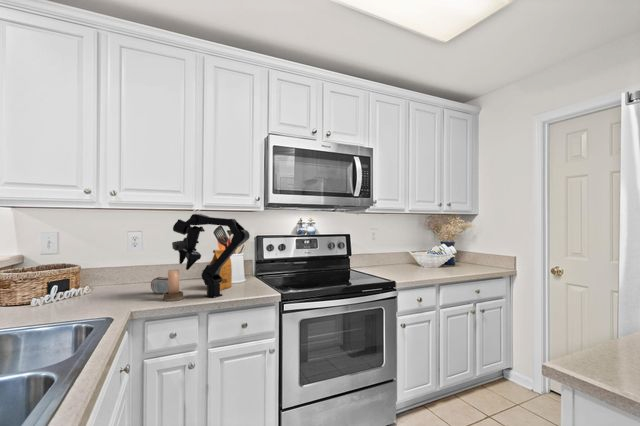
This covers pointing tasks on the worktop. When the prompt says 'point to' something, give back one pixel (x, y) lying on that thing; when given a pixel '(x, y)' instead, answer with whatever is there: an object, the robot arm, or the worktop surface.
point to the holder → (173, 296)
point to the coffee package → (224, 270)
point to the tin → (159, 285)
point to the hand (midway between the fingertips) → (183, 266)
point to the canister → (173, 282)
